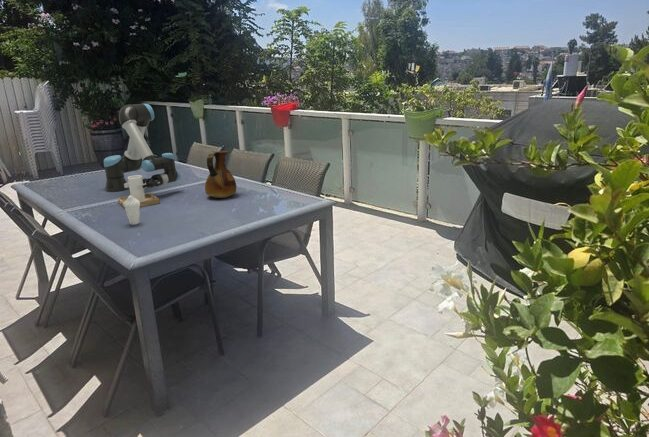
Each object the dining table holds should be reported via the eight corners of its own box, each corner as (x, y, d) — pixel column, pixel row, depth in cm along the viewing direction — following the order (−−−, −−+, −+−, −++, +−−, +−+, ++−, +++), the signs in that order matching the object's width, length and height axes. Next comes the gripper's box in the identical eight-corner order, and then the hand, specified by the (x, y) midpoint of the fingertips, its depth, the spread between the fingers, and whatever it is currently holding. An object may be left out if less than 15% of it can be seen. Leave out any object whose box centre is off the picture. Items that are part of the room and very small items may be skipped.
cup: (140, 203, 281) (136, 178, 276) (128, 203, 283) (124, 178, 278) (148, 200, 289) (144, 175, 284) (136, 199, 290) (132, 175, 285)
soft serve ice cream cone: (129, 221, 250) (124, 193, 245) (145, 220, 251) (140, 192, 246) (124, 226, 242) (119, 197, 237) (140, 225, 243) (135, 196, 238)
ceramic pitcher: (243, 194, 301) (239, 149, 292) (224, 201, 284) (219, 154, 275) (219, 191, 309) (214, 147, 300) (199, 199, 292) (194, 152, 283)
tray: (118, 202, 288) (117, 198, 287) (150, 197, 299) (150, 192, 298) (126, 209, 273) (125, 204, 272) (159, 203, 284) (159, 198, 283)
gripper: (172, 186, 293) (144, 194, 275) (148, 183, 304) (119, 190, 286) (171, 175, 290) (142, 182, 272) (146, 172, 302) (117, 179, 284)
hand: (130, 186), depth 279 cm, fingers open, 11 cm apart
